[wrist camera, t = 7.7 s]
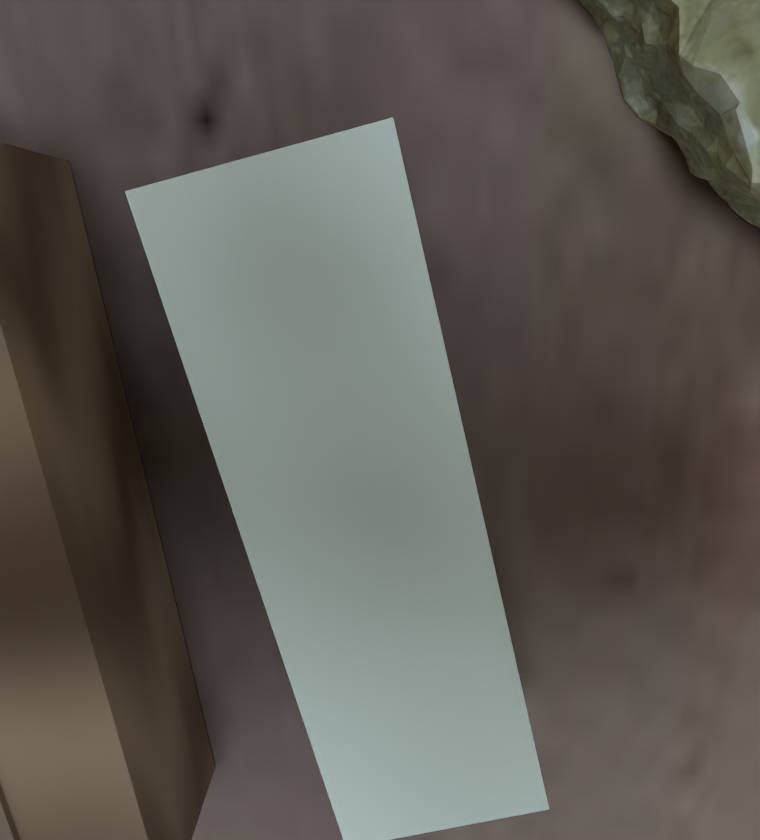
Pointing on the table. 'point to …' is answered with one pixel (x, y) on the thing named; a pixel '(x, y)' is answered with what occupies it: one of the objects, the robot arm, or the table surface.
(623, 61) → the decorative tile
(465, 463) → the sage plank
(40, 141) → the table surface
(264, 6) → the table surface
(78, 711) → the walnut plank
